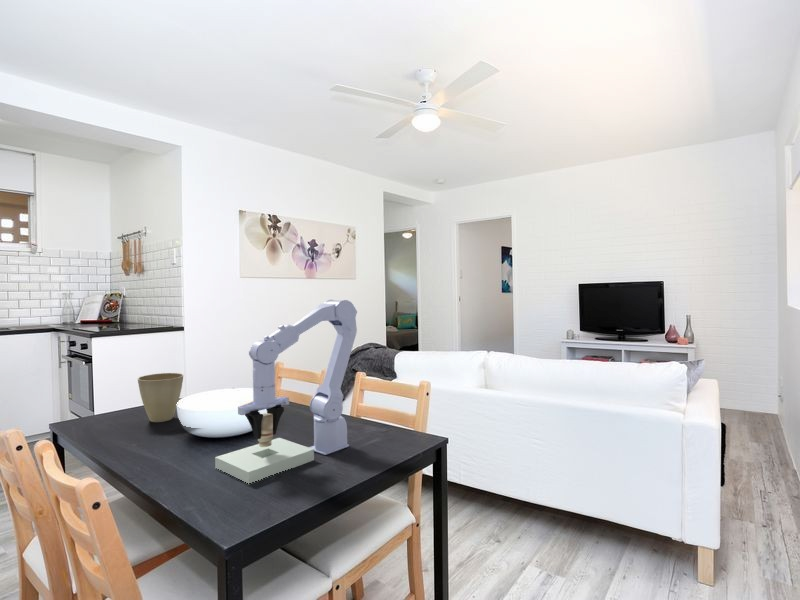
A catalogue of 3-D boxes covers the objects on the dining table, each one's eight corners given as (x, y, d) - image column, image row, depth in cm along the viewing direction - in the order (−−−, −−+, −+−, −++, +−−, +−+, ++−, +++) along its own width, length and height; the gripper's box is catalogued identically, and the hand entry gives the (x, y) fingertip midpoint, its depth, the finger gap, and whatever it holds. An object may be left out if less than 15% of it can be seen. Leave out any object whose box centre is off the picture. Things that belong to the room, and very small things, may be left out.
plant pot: (144, 428, 156) (143, 382, 156) (134, 419, 167) (133, 376, 167) (190, 419, 166) (189, 376, 166) (177, 411, 177) (176, 371, 177)
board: (279, 447, 135) (279, 437, 135) (314, 460, 125) (313, 449, 125) (215, 468, 120) (215, 457, 120) (248, 484, 110) (248, 472, 109)
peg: (267, 441, 125) (267, 412, 125) (276, 444, 122) (276, 415, 122) (254, 445, 122) (254, 415, 122) (263, 448, 119) (263, 418, 119)
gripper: (248, 392, 114) (249, 446, 114) (295, 383, 125) (296, 432, 125) (233, 388, 118) (234, 440, 119) (280, 380, 129) (281, 427, 130)
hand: (265, 435), depth 122 cm, fingers closed on peg, 4 cm apart
